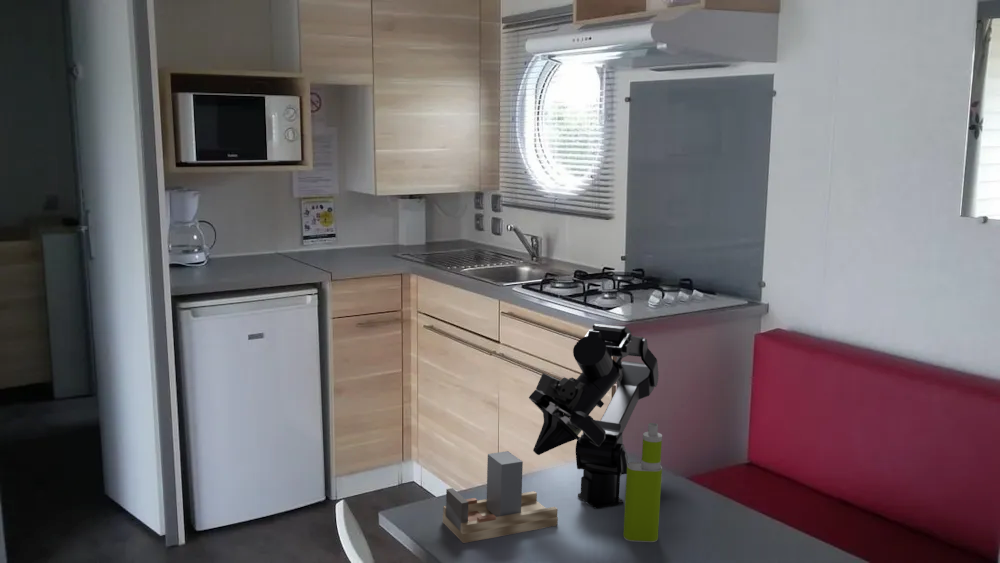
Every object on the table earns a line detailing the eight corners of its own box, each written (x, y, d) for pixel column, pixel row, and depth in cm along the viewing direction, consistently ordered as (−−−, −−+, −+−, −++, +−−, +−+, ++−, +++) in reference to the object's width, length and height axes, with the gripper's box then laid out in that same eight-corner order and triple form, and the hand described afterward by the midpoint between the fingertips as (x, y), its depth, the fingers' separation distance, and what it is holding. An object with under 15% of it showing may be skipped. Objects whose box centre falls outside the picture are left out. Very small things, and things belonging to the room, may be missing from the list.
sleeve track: (533, 506, 162) (534, 472, 161) (557, 525, 154) (558, 490, 153) (442, 522, 154) (443, 486, 153) (463, 543, 146) (464, 506, 145)
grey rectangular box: (506, 504, 157) (508, 451, 156) (520, 516, 152) (522, 461, 151) (486, 508, 156) (487, 453, 154) (500, 520, 151) (501, 464, 149)
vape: (660, 542, 148) (666, 428, 145) (624, 541, 149) (630, 427, 145) (657, 532, 152) (663, 421, 149) (622, 531, 152) (628, 420, 149)
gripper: (539, 346, 163) (484, 410, 160) (593, 371, 146) (532, 443, 143) (574, 383, 168) (521, 446, 165) (630, 411, 151) (572, 481, 148)
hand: (535, 453), depth 155 cm, fingers closed
